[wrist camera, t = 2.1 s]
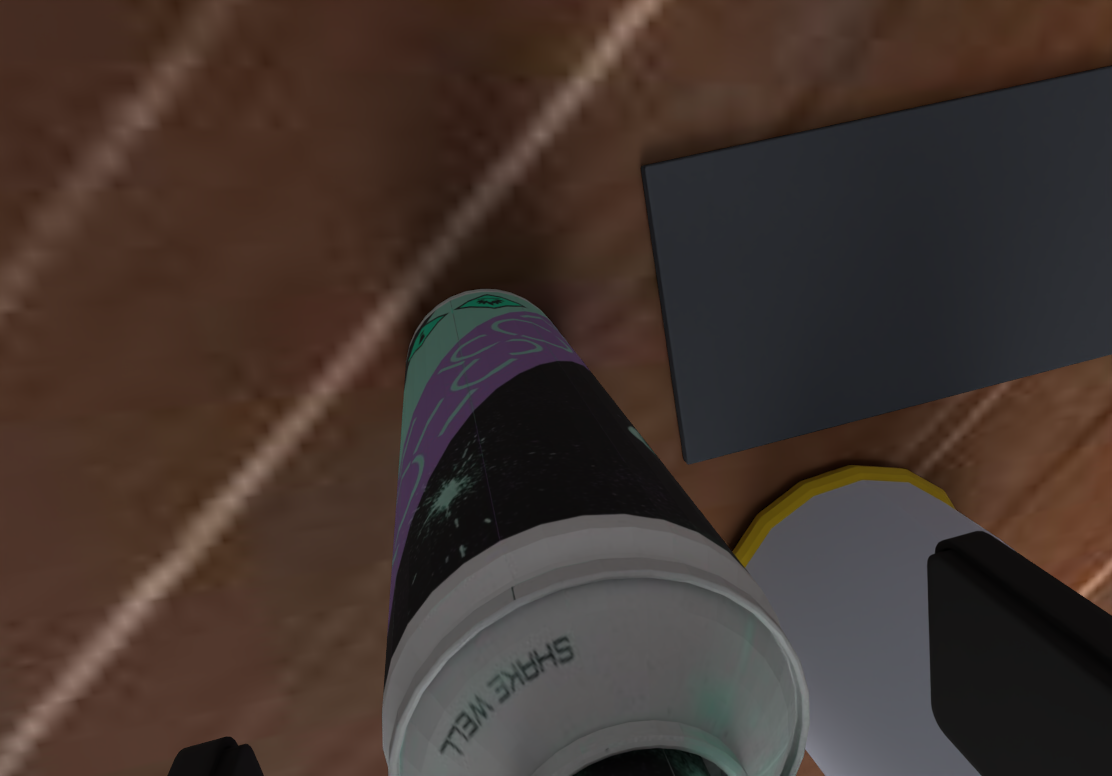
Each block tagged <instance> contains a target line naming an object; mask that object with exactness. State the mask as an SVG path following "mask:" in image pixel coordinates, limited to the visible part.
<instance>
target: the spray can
mask: <svg viewBox="0 0 1112 776" xmlns="http://www.w3.org/2000/svg"><path fill="white" fill-rule="evenodd" d="M382 726H383V750H384V754H385V757H386V761H387V764H388V774H389V776H796V773H797V771H798V769H799V766H800V764H801V761H802V759H803V756H804V751H805V746H806V741H807V736H808V731H809V726H810V710H809V690H808V686H807V683H806V679H805V675H804V672H803V668H802V665H801V661H800V659H799V657H798V656H797V654H796V652H795V650H794V649H793V647H792V645H791V643H790V642H789V640H788V638H787V637H786V635H785V633H784V631H783V630H782V629H781V626H780V623H779V619H778V617H777V615H776V613H775V612H774V610H773V608H772V606H771V605H770V603H769V601H768V599H767V598H766V596H765V594H764V592H763V591H762V589H761V588H760V587H759V585H758V584H757V583H756V581H755V580H754V579H753V578H752V576H751V575H750V574H749V573H748V571H747V570H746V569H745V567H744V566H743V565H742V564H741V562H740V561H739V560H738V559H737V557H736V556H735V555H734V553H733V552H732V551H731V550H730V548H729V547H728V546H727V545H726V543H725V542H724V541H723V539H722V538H721V537H720V536H719V534H718V533H717V532H716V531H715V529H714V528H713V527H712V525H711V524H710V523H709V522H708V520H707V519H706V518H705V517H704V515H703V514H702V513H701V511H700V510H699V509H698V508H697V506H696V505H695V504H694V503H693V501H692V500H691V499H690V497H689V496H688V495H687V494H686V492H685V491H684V490H683V489H682V487H681V486H680V485H679V483H678V482H677V481H676V480H675V478H674V477H673V476H672V475H671V473H670V472H669V471H668V469H667V468H666V467H665V466H664V464H663V463H662V462H661V461H660V459H659V458H658V457H657V455H656V454H655V453H654V452H653V450H652V449H651V448H650V447H649V445H648V444H647V443H646V441H645V440H644V439H643V438H642V436H641V435H640V434H639V433H638V431H637V430H636V429H635V427H634V426H633V425H632V424H631V422H630V421H629V420H628V419H627V417H626V416H625V415H624V413H623V412H622V411H621V410H620V408H619V407H618V406H617V405H616V403H615V402H614V401H613V399H612V398H611V397H610V396H609V394H608V393H607V392H606V390H605V389H604V388H603V387H602V385H601V384H600V383H599V382H598V380H597V379H596V378H595V376H594V375H593V374H592V373H591V371H590V370H589V369H588V368H587V366H586V365H585V364H584V362H583V361H582V360H581V359H580V357H579V356H578V355H577V354H576V352H575V351H574V350H573V348H572V347H571V346H570V345H569V343H568V342H567V341H566V340H565V338H564V337H563V336H562V334H561V333H560V332H559V331H558V329H557V328H556V327H555V326H554V324H553V323H552V322H551V321H550V319H549V318H548V317H547V316H546V315H545V314H544V313H543V312H542V311H541V310H540V309H539V308H538V307H536V306H535V305H533V304H532V303H531V302H529V301H528V300H526V299H525V298H522V297H520V296H518V295H516V294H513V293H511V292H506V291H502V290H497V289H477V290H471V291H465V292H462V293H460V294H457V295H455V296H452V297H450V298H448V299H446V300H445V301H443V302H442V303H440V304H438V305H437V306H436V307H435V308H434V309H433V310H432V311H430V312H429V313H428V314H427V315H426V316H425V318H424V319H423V320H422V322H421V323H420V325H419V326H418V328H417V329H416V331H415V333H414V336H413V338H412V340H411V343H410V346H409V350H408V355H407V360H406V371H405V386H404V401H403V415H402V430H401V445H400V459H399V474H398V489H397V503H396V518H395V532H394V547H393V562H392V576H391V591H390V606H389V620H388V635H387V650H386V664H385V679H384V694H383V708H382Z"/></svg>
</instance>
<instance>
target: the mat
mask: <svg viewBox="0 0 1112 776" xmlns="http://www.w3.org/2000/svg"><path fill="white" fill-rule="evenodd" d="M641 172H642V179H643V186H644V193H645V200H646V206H647V213H648V220H649V227H650V234H651V240H652V247H653V254H654V261H655V268H656V274H657V281H658V288H659V295H660V302H661V309H662V315H663V322H664V329H665V336H666V343H667V349H668V356H669V363H670V370H671V377H672V383H673V390H674V397H675V404H676V411H677V418H678V424H679V431H680V438H681V445H682V452H683V458H684V461H685V462H686V463H687V464H693V463H697V462H700V461H704V460H708V459H712V458H716V457H720V456H723V455H727V454H731V453H735V452H739V451H743V450H746V449H750V448H754V447H758V446H762V445H766V444H769V443H773V442H777V441H781V440H785V439H789V438H792V437H796V436H800V435H804V434H808V433H812V432H815V431H819V430H823V429H827V428H831V427H835V426H838V425H842V424H846V423H850V422H854V421H858V420H861V419H865V418H869V417H873V416H877V415H881V414H884V413H888V412H892V411H896V410H900V409H904V408H907V407H911V406H915V405H919V404H923V403H927V402H930V401H934V400H938V399H942V398H946V397H950V396H953V395H957V394H961V393H965V392H969V391H973V390H976V389H980V388H984V387H988V386H992V385H996V384H999V383H1003V382H1007V381H1011V380H1015V379H1019V378H1022V377H1026V376H1030V375H1034V374H1038V373H1042V372H1045V371H1049V370H1053V369H1057V368H1061V367H1065V366H1068V365H1072V364H1076V363H1080V362H1084V361H1088V360H1091V359H1095V358H1099V357H1103V356H1107V355H1111V354H1112V66H1107V67H1103V68H1098V69H1093V70H1089V71H1084V72H1079V73H1075V74H1070V75H1065V76H1061V77H1056V78H1051V79H1047V80H1042V81H1037V82H1033V83H1028V84H1023V85H1019V86H1014V87H1009V88H1004V89H1000V90H995V91H990V92H986V93H981V94H976V95H972V96H967V97H962V98H958V99H953V100H948V101H944V102H939V103H934V104H930V105H925V106H920V107H915V108H911V109H906V110H901V111H897V112H892V113H887V114H883V115H878V116H873V117H869V118H864V119H859V120H855V121H850V122H845V123H841V124H836V125H831V126H826V127H822V128H817V129H812V130H808V131H803V132H798V133H794V134H789V135H784V136H780V137H775V138H770V139H766V140H761V141H756V142H752V143H747V144H742V145H737V146H733V147H728V148H723V149H719V150H714V151H709V152H705V153H700V154H695V155H691V156H686V157H681V158H677V159H672V160H667V161H663V162H658V163H653V164H648V165H644V166H641Z"/></svg>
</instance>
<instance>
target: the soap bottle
mask: <svg viewBox="0 0 1112 776" xmlns="http://www.w3.org/2000/svg"><path fill="white" fill-rule="evenodd" d="M974 531H984V532H986V533H988V534H990V535H992V536H993V537H995V538H996V539H998V540H999V541H1001V542H1002V543H1004V542H1003V541H1002V540H1000V539H999V538H997V537H996V536H994V535H993V534H991V533H990V532H988V531H987V530H985V529H984V528H982V527H981V526H979V525H978V524H976V523H975V522H973V521H972V520H970V519H969V518H967V517H966V516H964V515H963V514H961V513H960V512H958V511H956V509H955V507H954V506H953V504H952V503H951V501H950V499H949V498H948V496H947V494H946V493H945V491H944V490H942V489H941V488H939V487H937V486H935V485H933V484H932V483H930V482H928V481H926V480H925V479H923V478H921V477H919V476H917V475H916V474H914V473H912V472H910V471H909V470H907V469H902V468H894V467H877V466H859V465H848V466H845V467H842V468H839V469H836V470H833V471H830V472H827V473H824V474H821V475H818V476H815V477H812V478H809V479H806V480H803V481H800V482H799V483H797V484H796V485H795V486H793V487H792V488H791V489H789V490H788V491H787V492H786V493H784V494H783V495H782V496H780V497H779V498H778V499H776V500H775V501H774V502H773V503H771V504H770V505H769V506H767V507H766V508H765V509H763V510H762V511H761V512H760V513H758V514H757V515H756V517H755V518H754V520H753V521H752V523H751V524H750V526H749V527H748V529H747V530H746V532H745V533H744V535H743V536H742V538H741V539H740V541H739V542H738V544H737V545H736V547H735V548H734V550H733V551H732V552H733V553H734V555H735V556H736V557H737V559H738V560H739V561H740V562H741V564H742V565H743V566H744V567H745V569H746V570H747V571H748V573H749V574H750V575H751V576H752V578H753V579H754V580H755V581H756V583H757V584H758V585H759V587H760V588H761V589H762V591H763V592H764V594H765V596H766V598H767V599H768V601H769V603H770V605H771V606H772V608H773V610H774V612H775V613H776V615H777V617H778V619H779V623H780V626H781V629H782V630H783V631H784V633H785V635H786V637H787V638H788V640H789V642H790V643H791V645H792V647H793V649H794V650H795V652H796V654H797V656H798V657H799V659H800V661H801V665H802V668H803V672H804V675H805V679H806V683H807V686H808V690H809V710H810V726H809V731H808V736H807V741H806V746H805V749H806V751H807V752H808V753H809V755H810V756H811V757H812V758H813V760H814V761H815V762H816V764H817V765H818V766H819V768H820V769H821V770H822V772H823V773H824V774H825V776H981V775H980V774H979V773H978V772H977V770H976V769H975V768H974V767H973V766H972V765H971V764H970V763H969V761H968V760H967V759H966V758H965V757H964V756H963V755H962V754H961V753H960V751H959V750H958V749H957V748H956V747H955V746H954V745H953V744H952V742H951V741H950V740H949V739H948V738H947V737H946V736H945V735H944V733H943V732H942V731H941V729H940V727H939V726H938V724H937V722H936V720H935V718H934V715H933V712H932V707H931V686H930V651H929V617H928V582H927V560H928V558H929V556H930V555H932V554H935V548H936V546H937V544H938V542H940V541H942V540H945V539H949V538H953V537H956V536H960V535H963V534H967V533H971V532H974ZM1004 544H1005V543H1004ZM1005 545H1007V544H1005ZM1007 546H1008V545H1007ZM1008 547H1009V546H1008ZM1010 548H1011V547H1010ZM1011 549H1012V548H1011ZM1014 551H1015V550H1014Z"/></svg>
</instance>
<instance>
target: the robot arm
mask: <svg viewBox="0 0 1112 776" xmlns="http://www.w3.org/2000/svg"><path fill="white" fill-rule="evenodd" d="M927 582H928V617H929V651H930V686H931V707H932V712H933V715H934V718H935V720H936V722H937V724H938V726H939V727H940V729H941V731H942V732H943V733H944V735H945V736H946V737H947V738H948V739H949V740H950V741H951V742H952V744H953V745H954V746H955V747H956V748H957V749H958V750H959V751H960V753H961V754H962V755H963V756H964V757H965V758H966V759H967V760H968V761H969V763H970V764H971V765H972V766H973V767H974V768H975V769H976V770H977V772H978V773H979V774H980V775H981V776H1112V616H1111V615H1110V614H1108V613H1107V612H1105V611H1104V610H1102V609H1101V608H1099V607H1098V606H1096V605H1095V604H1093V603H1092V602H1090V601H1089V600H1087V599H1086V598H1084V597H1083V596H1081V595H1080V594H1078V593H1077V592H1075V591H1074V590H1072V589H1071V588H1070V587H1068V586H1067V585H1065V584H1064V583H1062V582H1061V581H1059V580H1058V579H1056V578H1055V577H1053V576H1052V575H1050V574H1049V573H1047V572H1046V571H1044V570H1043V569H1041V568H1040V567H1038V566H1037V565H1035V564H1034V563H1032V562H1031V561H1029V560H1028V559H1026V558H1025V557H1023V556H1022V555H1020V554H1019V553H1017V552H1016V551H1014V550H1013V549H1011V548H1010V547H1008V546H1007V545H1005V544H1004V543H1002V542H1001V541H999V540H998V539H996V538H995V537H993V536H992V535H990V534H988V533H986V532H984V531H974V532H971V533H967V534H963V535H960V536H956V537H953V538H949V539H945V540H942V541H940V542H938V544H937V546H936V548H935V554H932V555H930V556H929V558H928V560H927ZM168 776H264V775H263V773H262V770H261V768H260V766H259V763H258V761H257V759H256V756H255V754H254V752H253V750H252V748H251V747H250V746H249V745H248V744H243V745H240V746H238V745H237V743H236V741H235V740H234V739H233V738H232V737H223V738H220V739H216V740H212V741H209V742H205V743H201V744H198V745H194V746H190V747H187V748H184V749H182V750H181V751H179V753H178V754H177V756H176V758H175V760H174V762H173V764H172V767H171V769H170V771H169V774H168Z"/></svg>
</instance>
